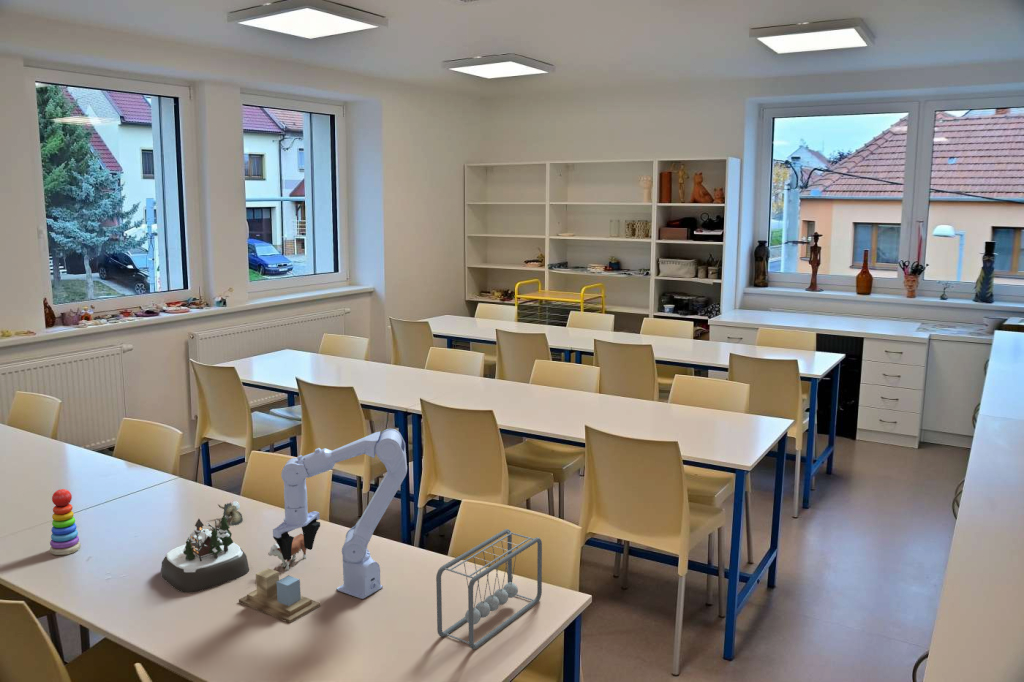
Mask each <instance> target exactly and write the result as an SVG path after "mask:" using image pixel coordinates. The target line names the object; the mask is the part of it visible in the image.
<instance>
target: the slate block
mask: <svg viewBox="0 0 1024 682" xmlns="http://www.w3.org/2000/svg"><path fill="white" fill-rule="evenodd" d="M300 580H301V579H300V578H298V577H294V576H292V575H287V576H285V577H283V578H281V579H279V581H277V599H278V602H279V603H282V604H284V605H287V606H290V605H292V604H294V603H295V602H297V601H299V600H301V596H302V594H301V582H300Z"/></svg>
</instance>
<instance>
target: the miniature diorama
mask: <svg viewBox="0 0 1024 682" xmlns="http://www.w3.org/2000/svg"><path fill="white" fill-rule="evenodd" d="M217 521H218V524H217ZM228 521H229V520H228V519H226V516H224V512H223V513H222V516H221V519H215V520H214V524H215V526H214V525H212V524H211V523H209V522H208V521H207V522H206V523H207V524H205V525H204V523H203V521H201V519H200V518H198V519H197V521H196V523H195V524H194V526H195V528H194V529H193V531H192V532H191V533H190V534H189V535H188V537H187V539H186V541H185V544H182V545H180V546H177V547H175V548H173V549H170V550H169V551H168V552H167V553H166V554H165V555H164V558H163V559H162V560H161V569H160V576H161V579H162V580H164V581H165V582H166V583H167V584H168V585H170V586H171V587H172V586H173V588H174V589H175V590H176V591H178V592H180V593H184V594H185V593H186V594H189V593H190V594H193V593H199V592H203V591H206V590H209V589H212V588H215V587H217V586H221V585H223V584H227V583H229V582H231V581H234V580H237V579H240V578H242V577H244V576H246V575H247V574H249V571H250V567H249V561H248V556H247V553H245V551H243V548H241V546H239V544H237V543H235V542H234V540H233V539H232V534H233V533H232V531H230V528H231V527H230V524H228ZM204 526H206V527H207V528H206V529H204ZM208 527H210V530H209V528H208Z"/></svg>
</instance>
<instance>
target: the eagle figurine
mask: <svg viewBox="0 0 1024 682" xmlns="http://www.w3.org/2000/svg"><path fill="white" fill-rule="evenodd" d="M217 506H218V507H219V508H220V509H222V510H223V513H224V516H225V517H226V519H227V520H228V519H229V518H231V519H230V522H229V526H230V525H231V526H233V525H235V526H237V525H239V524H241V523H242V522H243V515H242V513H241V512H240V511H239V510H241V509H240V508H241V507H240V503H239V502H238V501H237V500H233V501H232V502H227V503H224V505H223V506H222V505H221V504H219V503H217Z"/></svg>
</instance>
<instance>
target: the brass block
mask: <svg viewBox="0 0 1024 682" xmlns="http://www.w3.org/2000/svg"><path fill="white" fill-rule="evenodd" d="M279 575H280V573H279V571H277V570H275V569H272V568H270V567H267V568H264V569H263V570H261V571H259V572H257V573H255V580H256V582H255V587H256V590H257V594H258V595H261V596H264V597H266V598H269V597H271V596H272V595H274V594H276V593H277V581H279V580H280V576H279Z"/></svg>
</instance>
